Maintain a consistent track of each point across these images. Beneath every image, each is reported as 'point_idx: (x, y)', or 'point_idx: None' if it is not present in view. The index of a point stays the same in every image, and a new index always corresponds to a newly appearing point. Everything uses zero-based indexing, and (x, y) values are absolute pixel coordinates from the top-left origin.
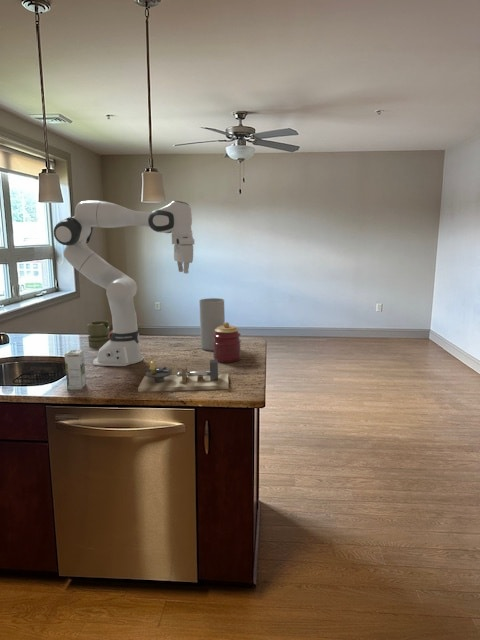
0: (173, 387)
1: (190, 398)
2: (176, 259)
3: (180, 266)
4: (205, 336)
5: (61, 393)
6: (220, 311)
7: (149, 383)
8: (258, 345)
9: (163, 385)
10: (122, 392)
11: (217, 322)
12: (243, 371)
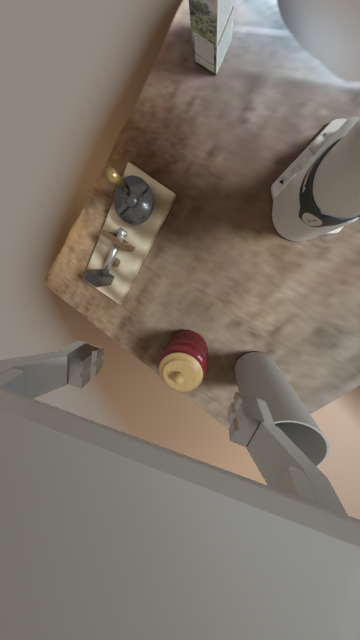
0: (108, 215)
1: (78, 223)
2: (306, 529)
3: (263, 448)
4: (254, 364)
5: None
6: None
7: None
8: (215, 415)
9: None
10: (140, 138)
11: None
12: (130, 330)
